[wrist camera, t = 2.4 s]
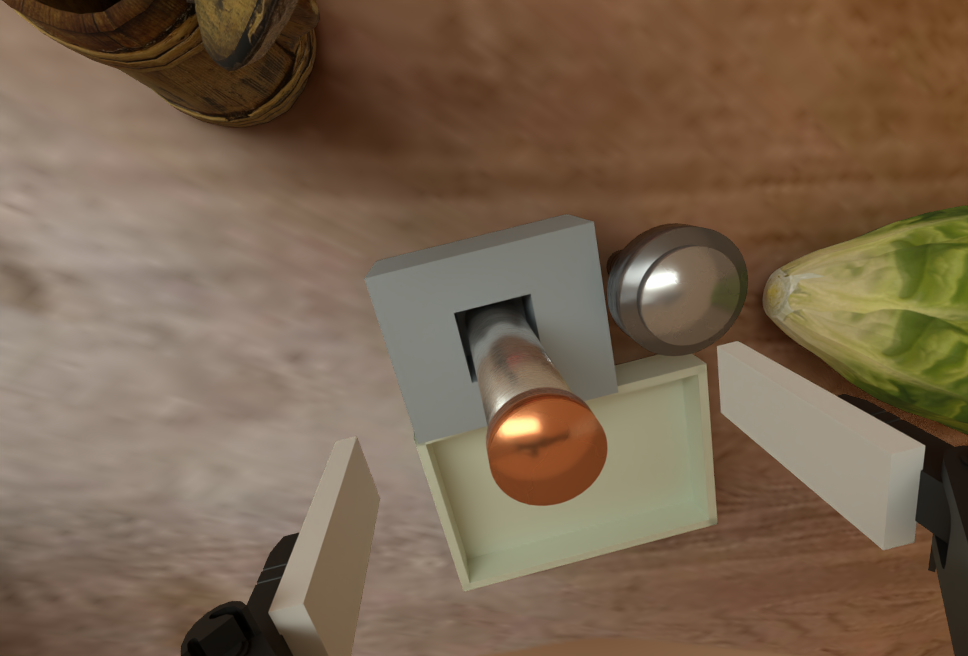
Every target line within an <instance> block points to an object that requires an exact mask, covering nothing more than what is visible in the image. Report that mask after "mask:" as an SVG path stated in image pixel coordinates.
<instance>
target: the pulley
mask: <svg viewBox="0 0 968 656" xmlns="http://www.w3.org/2000/svg"><path fill="white" fill-rule="evenodd" d="M607 271H608V274H609V275H610V276H609V280H608V285H607V301H608V306H609V310H610V312H611V315H612V317H613V319H614V321H615V322H616V324H617V325H618V326H619V328H620V329H621V330H622V331H623V332H625V333H626V334H627V335H628V336H629V337H631V338H632V339H633V340H634V341H636V342H637V343H638V344H639V345H641V346H642V347H643V348H645V349H647V350H649V351H651V352H653V353H656V354H659V355H664V356H683V355H688V354H692V353H695V352H698V351H700V350H702V349H704V348H706V347H708V346H710V345H711V344H713V343H714V342H716V341H717V340H718V339H719V338H721V337H722V336H723V335H724V334H725V333H726V332H727V331H728V330H729V328H730V327H731V326H732V325H733V323H734V322H735V320H736V319H737V317H738V315H739V313H740V312H741V309H742V307H743V304H744V301H745V298H746V294H747V287H748V276H747V269H746V264H745V261H744V259H743V256H742V254H741V253H740V251H739V249H738V248H737V247H736V246H735V244H734V243H733V242H732V241H731V240H730V239H728V238H727V237H726V236H724V235H722V234H721V233H719V232H716V231H714V230H711V229H707V228H702V227H697V226H692V225H686V224H678V223H675V224H665V225H660V226H657V227H654V228H651V229H649V230H647V231H645V232H643V233H642V234H640V235H638V236H637V237H636V238H635V239H633V240H632V241H631V242H630V243H629V244H628V245H627V246H626V247H625V248H624V249H623V250H618V251H616V252H614V253H613V254H612V255H611V256H610V258H609V259H608V262H607Z"/></svg>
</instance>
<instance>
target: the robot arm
mask: <svg viewBox="0 0 968 656" xmlns="http://www.w3.org/2000/svg"><path fill="white" fill-rule="evenodd" d="M717 356H718V372H719V389H720V405H721V413H722V414H723V415H724V416H725V417H727V418H728V419H729V420H730V421H731V422H733V423H734V424H735V425H736V426H737V427H738V428H740V429H741V430H742V431H743V432H744V433H746V434H747V435H748V436H749V437H750V438H751V439H753V440H754V441H755V442H756V443H757V444H759V445H760V446H761V447H762V448H763V449H764V450H766V451H767V452H768V453H769V454H770V455H772V456H773V457H774V458H775V459H776V460H777V461H779V462H780V463H781V464H782V465H783V466H784V467H786V468H787V469H788V470H789V471H790V472H792V473H793V474H794V475H795V476H796V477H797V478H799V479H800V480H801V481H802V482H803V483H805V484H806V485H807V486H808V487H809V488H810V489H812V490H813V491H814V492H815V493H816V494H818V495H819V496H820V497H821V498H822V499H823V500H825V501H826V502H827V503H828V504H829V505H831V506H832V507H833V508H834V509H835V510H836V511H838V512H839V513H840V514H841V515H842V516H844V517H845V518H846V519H847V520H848V521H849V522H851V523H852V524H853V525H854V526H855V527H857V528H858V529H859V530H860V531H861V532H862V533H864V534H865V535H866V536H867V537H868V538H870V539H871V540H872V541H873V542H874V543H875V544H877V545H878V546H879V547H880V548H881V549H883V550H886V549H890V548H894V547H898V546H902V545H906V544H909V543H913V542H914V541H915V532H916V523H917V522H918V523H919V524H921V525H922V526H924V527H925V528H926V529H928V530H929V531H930V532H932V533H933V538H932V546H931V554H930V561H929V569H928V570H929V571H933V572H935V570H936V569H937V574H938V579H939V583H940V588H941V593H942V598H943V602H944V607H945V612H946V616H947V621H948V626H949V631H950V635H951V640H952V645H953V650H954V654H955V656H968V446H957V447H954V446H952V445H950V444H948V443H946V442H945V441H943V440H941V439H939V438H937V437H935V436H933V435H931V434H929V433H927V432H926V431H924V430H922V429H920V428H918V427H916V426H914V425H912V424H910V423H909V422H907V421H905V420H900V418H899V417H897V416H895V415H893V414H891V413H890V412H887V413H886V411H885V410H884V409H882V408H880V407H878V406H876V405H874V404H873V403H871V402H869V401H867V400H863V399H860V398H856V397H853V396H850V395H846V394H843V395H839V396H835V395H834V394H832V393H830V392H828V391H826V390H825V389H823V388H821V387H819V386H818V385H816V384H814V383H812V382H810V381H809V380H807V379H805V378H803V377H801V376H800V375H798V374H796V373H794V372H792V371H791V370H789V369H787V368H785V367H783V366H782V365H780V364H778V363H776V362H774V361H773V360H771V359H769V358H767V357H765V356H764V355H762V354H760V353H758V352H757V351H755V350H753V349H751V348H749V347H748V346H746V345H744V344H742V343H740V342H739V341H736V342H732V343H728V344H724V345H720V346H717ZM379 502H380V497H379V494H378V491H377V489H376V486H375V483H374V481H373V478H372V475H371V473H370V470H369V467H368V465H367V462H366V459H365V457H364V454H363V451H362V449H361V446H360V443H359V441H358V438H357V436H355V437H351V438H347V439H343V440H339V441H336V442H335V444H334V447H333V449H332V452H331V454H330V457H329V459H328V462H327V464H326V467H325V469H324V472H323V475H322V477H321V480H320V482H319V485H318V487H317V490H316V492H315V495H314V497H313V500H312V503H311V505H310V508H309V510H308V513H307V515H306V518H305V520H304V523H303V525H302V528H301V530H300V533H296V534H292V535H288V536H284V537H283V538H282V539H281V540H280V542H279V543H278V544H277V545H276V546H275V548H274V549H273V550H272V551H271V552H270V554H269V557H268V559H267V561H266V563H265V566H264V568H263V572H261V574H260V577H259V579H258V581H257V585H256V586H255V588H254V590H253V592H252V594H251V597H250V599H249V601H248V603H247V605H245V604H244V603H243V602H241V601H231V602H228V603H225V604H222V605H219V606H218V607H216V608H214V609H213V610H211V611H209V612H208V613H206V614H205V615H204V616H203V617H202V618H201V619H199V620H198V621H197V622H196V623H195V624H194V625H193V627H192V628H191V629H190V631H189V632H188V633H187V634H186V636H185V638H184V641H183V643H182V645H181V656H351V652H352V647H353V642H354V636H355V631H356V626H357V620H358V615H359V609H360V604H361V599H362V593H363V588H364V583H365V577H366V572H367V566H368V561H369V556H370V550H371V545H372V540H373V534H374V529H375V523H376V518H377V513H378V507H379Z"/></svg>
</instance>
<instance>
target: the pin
mask: <svg viewBox="0 0 968 656" xmlns="http://www.w3.org/2000/svg"><path fill="white" fill-rule="evenodd" d="M465 325H466V329H467V334H468V339H469V343H470V348H471V353H472V357H473V362H474V366H475V371H476V376H477V380H478V385H479V389H480V394H481V399H482V403H483V408H484V412H485V417H486V422H487V426H488V430H487V434H486V449H487V455H488V460H489V465H490V470H491V473H492V476H493V478H494V480H495V482H496V484H497V485H498V486H499V488H500V489H501V490H502V491H503V492H504V493H505V494H507V495H508V496H509V497H511V498H513V499H514V500H516V501H519V502H521V503H524V504H528V505H535V506H549V505H555V504H560V503H563V502H566V501H568V500H571V499H573V498H575V497H576V496H578V495H580V494H581V493H583V492H584V491H585V490H587V489H588V488H589V487H590V486H591V485H592V484H593V483H594V482H595V480H596V479H597V478H598V476H599V475H600V473H601V471H602V469H603V467H604V464H605V462H606V457H607V449H608V446H607V438H606V434H605V432H604V429H603V427H602V426H601V424H600V422H599V421H598V419H597V418H596V417H595V415H594V414H593V412H592V411H591V409H590V408H589V406H588V405H587V404H586V403H585V402H584V401H583V400H582V399H581V398H580V397H578V396H577V395H575V394H573V393H572V391H571V389H570V388H569V386H568V385H567V383H566V382H565V380H564V379H563V377H562V376H561V374H560V373H559V371H558V369H557V368H556V366H555V365H554V363H553V362H552V360H551V359H550V357H549V356H548V354H547V352H546V351H545V349H544V348H543V346H542V345H541V343H540V342H539V340H538V339H537V337H536V335H535V334H534V332H533V331H532V329H531V328H530V326H529V325H528V323H527V322H526V320H525V318H524V317H523V315H522V314H521V312H520V311H519V309H518V308H517V306H516V305H515V303H514V302H513V300H512V299H508V300H504V301H500V302H496V303H492V304H488V305H484V306H480V307H476V308H472V309H468V310H466V312H465Z"/></svg>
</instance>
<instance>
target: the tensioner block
mask: <svg viewBox="0 0 968 656" xmlns="http://www.w3.org/2000/svg"><path fill="white" fill-rule="evenodd" d="M364 279H365V282H366V285H367V288H368V291H369V294H370V297H371V300H372V303H373V307H374V310H375V313H376V316H377V319H378V322H379V325H380V328H381V331H382V334H383V337H384V340H385V343H386V347H387V350H388V353H389V356H390V359H391V362H392V365H393V368H394V371H395V374H396V377H397V380H398V384H399V387H400V390H401V393H402V396H403V399H404V402H405V405H406V408H407V411H408V414H409V417H410V421H411V424H412V427H413V430H414V433H415V436H416V439H417V442H418V444H420V443H424V442H428V441H432V440H435V439H439V438H443V437H447V436H451V435H455V434H459V433H463V432H466V431H470V430H474V429H478V428H482V427H486V426H487V422H486V417H485V412H484V408H483V403H482V399H481V394H480V389H479V385H478V380H477V376H476V371H475V366H474V362H473V357H472V353H471V348H470V343H469V339H468V334H467V329H466V325H465V312H466V310H468V309H472V308H476V307H480V306H484V305H488V304H492V303H496V302H500V301H504V300H508V299H512V300H513V302H514V303H515V305H516V306H517V308H518V309H519V311H520V312H521V314H522V315H523V317H524V318H525V320H526V322H527V323H528V325H529V326H530V328H531V329H532V331H533V332H534V334H535V335H536V337H537V339H538V340H539V342H540V343H541V345H542V346H543V348H544V349H545V351H546V352H547V354H548V356H549V357H550V359H551V360H552V362H553V363H554V365H555V366H556V368H557V369H558V371H559V373H560V374H561V376H562V377H563V379H564V380H565V382H566V383H567V385H568V386H569V388H570V389H571V391H572V393H573V394H575V395H577V396H578V397H580V398H581V399H582V400H583V401H587V400H590V399H594V398H598V397H602V396H606V395H610V394H614V393H618V386H617V379H616V372H615V365H614V358H613V352H612V345H611V338H610V331H609V324H608V317H607V310H606V303H605V296H604V289H603V282H602V275H601V268H600V261H599V254H598V248H597V241H596V234H595V227H594V222H593V221H589V220H586V219H582V218H579V217H575V216H572V215H568V214H565V215H561V216H557V217H553V218H549V219H545V220H541V221H537V222H533V223H529V224H525V225H521V226H517V227H513V228H508V229H504V230H500V231H496V232H492V233H488V234H484V235H480V236H476V237H472V238H468V239H464V240H460V241H456V242H452V243H448V244H444V245H440V246H436V247H432V248H427V249H423V250H419V251H415V252H411V253H407V254H403V255H399V256H395V257H391V258H387V259H383V260H379V261H376V262H375V264H374V265H373V267H372V268H371V270H370V271H369V273H368V274H367V276H366V277H365V278H364Z"/></svg>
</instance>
